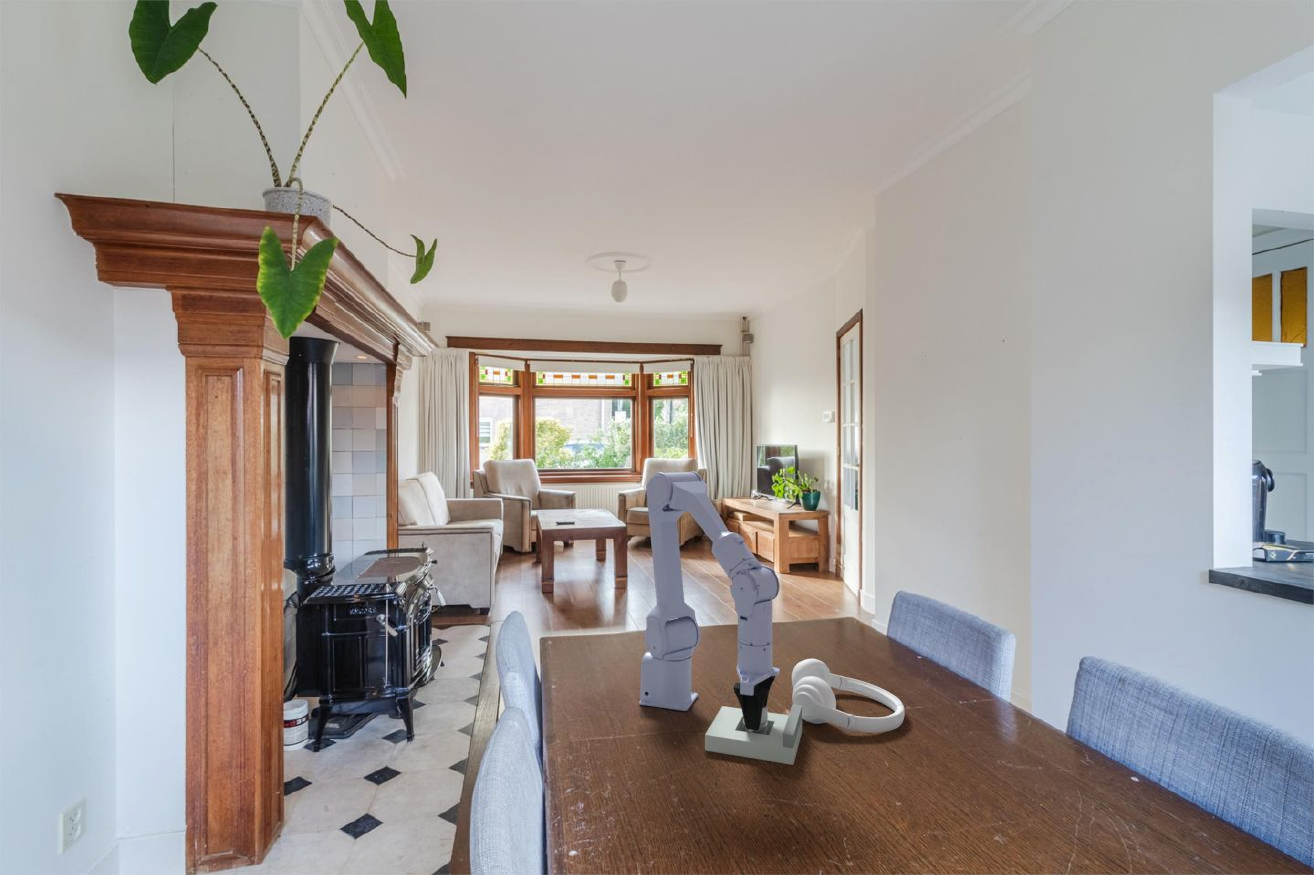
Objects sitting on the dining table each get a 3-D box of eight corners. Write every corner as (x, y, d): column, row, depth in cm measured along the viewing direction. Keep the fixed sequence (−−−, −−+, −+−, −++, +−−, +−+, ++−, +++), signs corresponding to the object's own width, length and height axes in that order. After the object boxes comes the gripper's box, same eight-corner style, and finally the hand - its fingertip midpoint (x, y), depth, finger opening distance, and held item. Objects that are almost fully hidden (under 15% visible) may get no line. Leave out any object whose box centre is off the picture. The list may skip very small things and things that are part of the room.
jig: (705, 750, 102) (705, 722, 102) (722, 720, 113) (722, 694, 113) (793, 764, 97) (793, 735, 97) (802, 731, 109) (802, 705, 109)
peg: (740, 740, 104) (740, 710, 104) (747, 730, 108) (747, 701, 108) (763, 745, 103) (763, 714, 103) (770, 735, 106) (770, 705, 106)
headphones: (790, 729, 109) (912, 752, 105) (795, 683, 109) (917, 705, 105) (789, 687, 128) (893, 705, 124) (793, 648, 128) (897, 665, 124)
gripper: (772, 657, 97) (772, 746, 97) (785, 631, 111) (785, 709, 111) (727, 652, 100) (727, 739, 99) (745, 627, 113) (745, 703, 113)
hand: (755, 723), depth 105 cm, fingers closed on peg, 4 cm apart
